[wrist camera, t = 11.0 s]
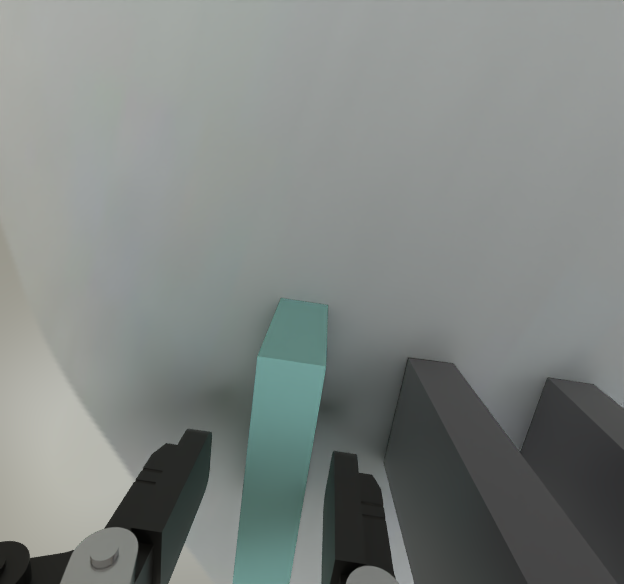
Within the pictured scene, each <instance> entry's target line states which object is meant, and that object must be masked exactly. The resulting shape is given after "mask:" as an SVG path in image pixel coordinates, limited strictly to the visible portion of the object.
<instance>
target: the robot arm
mask: <svg viewBox="0 0 624 584" xmlns="http://www.w3.org/2000/svg"><path fill="white" fill-rule="evenodd" d="M211 443H212V433H211V432H207V431H200V430H193V429H187V430H186V431H185V433H184V435H183V437H182V438H181V440H180V442H179V444H178V445H174V444H167V443H166V444H165V445H163V446H162V447H161V448H159V449H158V450H157V451H156V452H154V453H153V454H152V455H151V457H150V458H149V460H148V461H147V463H146V464H145V466H144V467H143V471H141V472H140V474H139V475H138V477H137V478H136V481H135V482H134V483H133V485H132V486H131V488H130V489H129V491H128V492H127V494H126V496H125V497H124V499H123V500H122V502H121V503H120V505H119V506H118V508H117V510H116V511H115V513H114V514H113V516H112V517H111V519H110V521H109V522H108V524H107V525H106V527H105V528H104V529H102V530H100V531H97V532H95V533H93V534H91V535H90V536H88V537H87V538H85V539H84V540H83V541H82V542H81V543H80V544H79V545H78V546H77V547H76V549H75V550H72V551H69V552H65V553H60V554H54V555H48V556H41V557H34V558H30V554H29V551H28V549H27V547H26V546H24V545H23V544H21V543H19V542H15V541H5V542H0V584H168V583H169V581H170V578H171V575H172V573H173V571H174V568H175V565H176V563H177V560H178V558H179V555H180V553H181V550H182V548H183V546H184V543H185V541H186V538H187V536H188V533H189V531H190V528H191V526H192V523H193V520H194V518H195V515H196V513H197V510H198V508H199V505H200V503H201V500H202V498H203V495H204V493H205V490H206V486H207V482H208V478H209V470H210V457H211ZM321 584H399V583H398V582H397V580H396V578H395V575H394V571H393V564H392V558H391V551H390V545H389V538H388V532H387V525H386V521H385V512H384V508H383V499H382V493H381V488H380V487H379V485H378V484H377V482H376V480H375V479H374V477H373V475H370V474H363V473H359V471H358V460H357V455H356V454H350V453H344V452H337V451H333V454H332V459H331V464H330V469H329V475H328V480H327V485H326V491H325V498H324V510H323V544H322V582H321Z"/></svg>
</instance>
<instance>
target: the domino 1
mask: <svg viewBox="0 0 624 584" xmlns="http://www.w3.org/2000/svg"><path fill="white" fill-rule="evenodd" d="M327 320H328V305H324V304H317V303H311V302H304V301H297V300H291V299H284V298H281V299H280V302H279V304H278V307H277V309H276V312H275V314H274V317H273V319H272V322H271V324H270V327H269V329H268V331H267V334H266V336H265V339H264V341H263V344H262V346H261V349H260V351H259V354H258V356H257V365H256V375H255V384H254V393H253V402H252V411H251V420H250V429H249V439H248V448H247V457H246V466H245V475H244V484H243V493H242V503H241V512H240V521H239V530H238V539H237V548H236V557H235V567H234V576H233V584H289V583H290V577H291V571H292V565H293V559H294V553H295V547H296V542H297V536H298V530H299V524H300V518H301V512H302V506H303V500H304V494H305V488H306V483H307V477H308V471H309V465H310V459H311V453H312V447H313V441H314V435H315V429H316V424H317V418H318V412H319V406H320V400H321V394H322V388H323V382H324V376H325V371H326V355H327Z"/></svg>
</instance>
